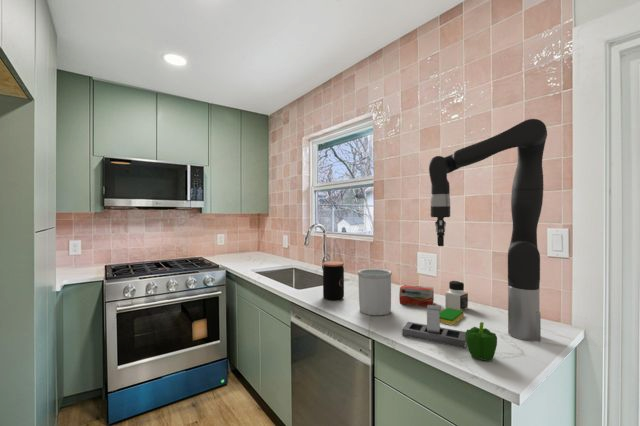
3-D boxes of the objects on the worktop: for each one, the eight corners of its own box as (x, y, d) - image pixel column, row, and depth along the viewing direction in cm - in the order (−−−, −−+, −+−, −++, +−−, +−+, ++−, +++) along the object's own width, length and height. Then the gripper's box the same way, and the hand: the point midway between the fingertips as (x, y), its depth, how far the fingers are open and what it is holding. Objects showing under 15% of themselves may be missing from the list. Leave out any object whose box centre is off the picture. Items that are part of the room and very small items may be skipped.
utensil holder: (351, 308, 137) (351, 269, 137) (377, 303, 144) (377, 267, 144) (371, 318, 124) (371, 276, 124) (399, 312, 131) (398, 272, 131)
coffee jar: (343, 301, 148) (342, 264, 148) (321, 300, 149) (321, 264, 149) (344, 295, 158) (344, 261, 158) (324, 294, 160) (324, 260, 160)
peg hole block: (466, 339, 104) (466, 332, 104) (464, 348, 97) (464, 340, 97) (408, 327, 114) (408, 321, 114) (402, 335, 107) (402, 328, 107)
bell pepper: (489, 367, 85) (488, 331, 85) (460, 356, 92) (460, 323, 92) (502, 358, 90) (502, 325, 90) (474, 348, 97) (474, 317, 97)
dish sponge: (434, 321, 121) (434, 315, 121) (446, 313, 132) (446, 307, 132) (452, 326, 117) (452, 319, 117) (463, 316, 127) (463, 311, 127)
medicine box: (433, 303, 145) (433, 286, 145) (433, 308, 138) (433, 290, 138) (401, 299, 151) (401, 283, 151) (399, 304, 143) (399, 287, 143)
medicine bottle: (460, 311, 132) (460, 284, 132) (445, 307, 138) (444, 281, 138) (468, 308, 137) (468, 281, 137) (452, 304, 142) (452, 278, 142)
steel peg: (440, 334, 107) (440, 306, 106) (439, 338, 103) (439, 309, 103) (427, 332, 108) (427, 304, 108) (426, 336, 104) (426, 308, 104)
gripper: (451, 205, 116) (451, 247, 116) (449, 205, 129) (449, 243, 129) (430, 205, 118) (430, 246, 118) (430, 206, 132) (430, 243, 132)
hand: (440, 245), depth 124 cm, fingers open, 8 cm apart
